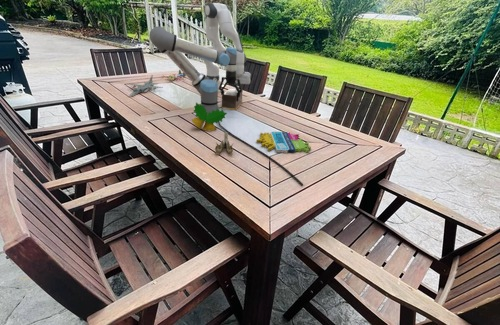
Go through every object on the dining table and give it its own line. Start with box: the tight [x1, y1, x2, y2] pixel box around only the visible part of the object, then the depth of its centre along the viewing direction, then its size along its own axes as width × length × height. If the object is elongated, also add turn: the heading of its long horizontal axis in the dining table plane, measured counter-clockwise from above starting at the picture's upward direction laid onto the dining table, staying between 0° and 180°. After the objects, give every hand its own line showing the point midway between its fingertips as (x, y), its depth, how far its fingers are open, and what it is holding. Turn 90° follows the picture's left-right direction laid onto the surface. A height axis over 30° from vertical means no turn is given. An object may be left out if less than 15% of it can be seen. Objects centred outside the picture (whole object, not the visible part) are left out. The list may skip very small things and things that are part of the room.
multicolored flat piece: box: [256, 131, 312, 154], centre depth 152 cm, size 26×2×30 cm
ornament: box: [191, 102, 228, 132], centre depth 162 cm, size 21×8×15 cm, turn 105°
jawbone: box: [214, 131, 234, 156], centre depth 136 cm, size 9×15×10 cm
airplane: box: [127, 74, 164, 98], centre depth 227 cm, size 38×31×10 cm
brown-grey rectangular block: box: [221, 88, 243, 111], centre depth 207 cm, size 19×11×11 cm, turn 167°
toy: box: [161, 69, 187, 82], centre depth 279 cm, size 28×7×30 cm
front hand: (230, 100), depth 202 cm, fingers closed on brown-grey rectangular block, 11 cm apart
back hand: (237, 88), depth 217 cm, fingers closed
